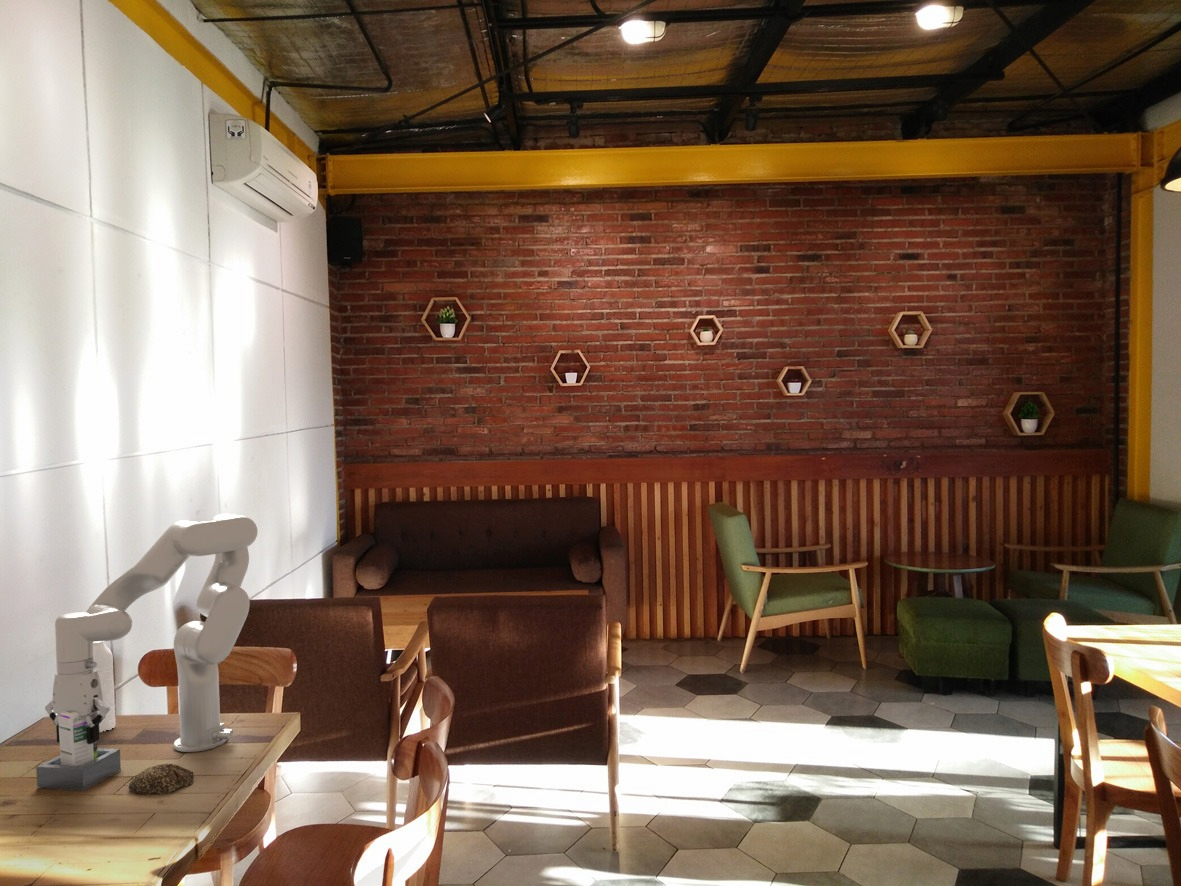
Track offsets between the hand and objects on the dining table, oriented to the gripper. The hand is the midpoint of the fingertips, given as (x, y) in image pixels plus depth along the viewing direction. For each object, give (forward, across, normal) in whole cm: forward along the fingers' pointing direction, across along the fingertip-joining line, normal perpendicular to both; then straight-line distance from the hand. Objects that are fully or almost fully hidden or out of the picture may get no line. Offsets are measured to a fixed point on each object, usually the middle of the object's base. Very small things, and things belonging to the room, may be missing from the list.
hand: (78, 740), depth 204 cm
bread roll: (+10, -22, 0) cm, 24 cm away
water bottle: (+9, +19, -30) cm, 37 cm away
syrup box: (+7, 0, 0) cm, 7 cm away
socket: (+9, 0, 0) cm, 9 cm away
